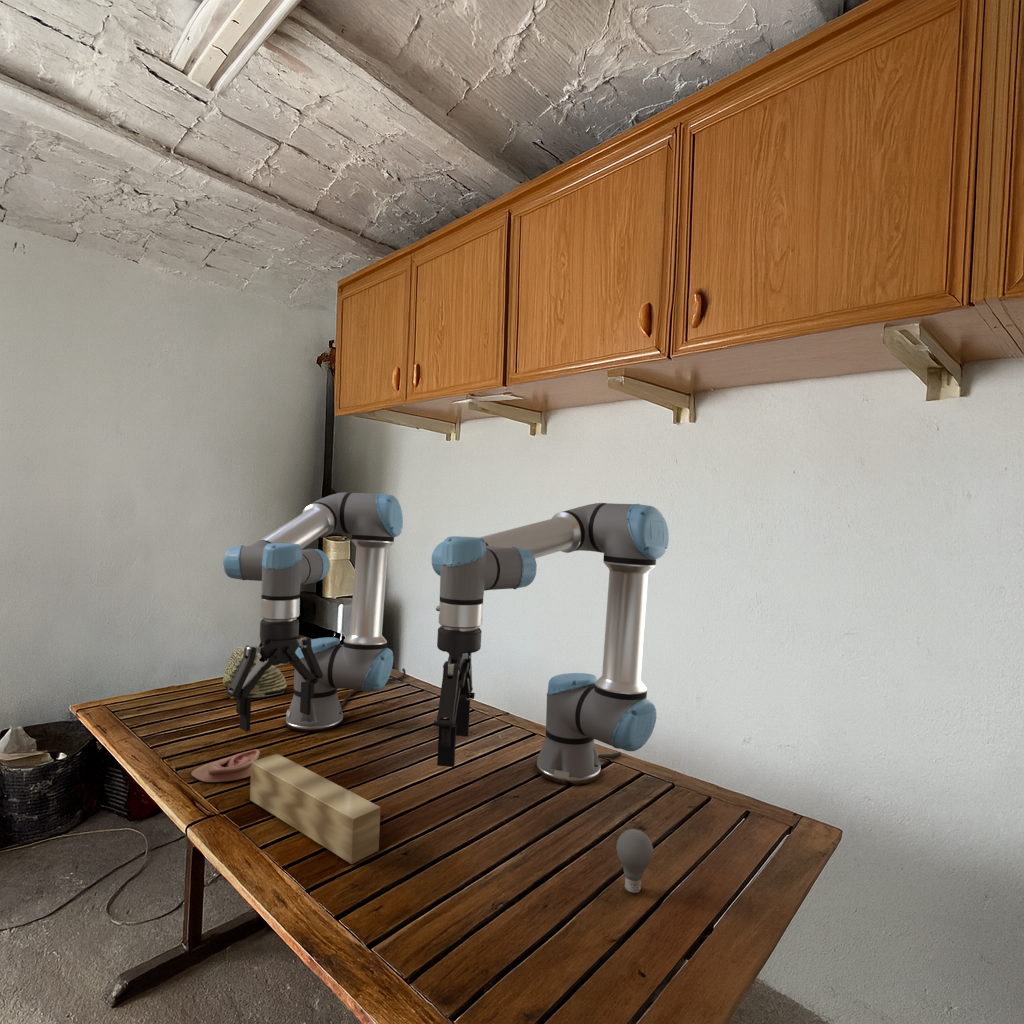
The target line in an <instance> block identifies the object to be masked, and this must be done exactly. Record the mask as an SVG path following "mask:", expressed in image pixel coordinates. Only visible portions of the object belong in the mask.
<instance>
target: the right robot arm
mask: <svg viewBox="0 0 1024 1024" xmlns="http://www.w3.org/2000/svg"><path fill="white" fill-rule="evenodd" d="M668 526H669V525H668V523H667V520H666V518H665V517H664V515H663V514H662V512H661V511H660V510H659V509H658V508H656V507H655V506H652V505H647V504H641V503H612V502H611V503H607V502H595V503H590V504H585V505H582V506H577V507H575V508H571V509H566V510H563V511H559V512H557V513H554V515H553V516H552V517H551V518H549V519H546V520H541V521H538V522H534V523H530V524H526V525H522V526H518V527H515V528H510V529H507V530H502V531H498V532H495V533H491V534H487V535H483V536H479V537H477V536H461V535H460V536H457V535H455V536H454V535H453V536H452V535H451V536H447V537H446V538H444V540H443V541H441V542H440V543H438V544H437V545H436V546H435V547H434V549H433V551H432V554H431V566H432V570H433V571H434V572H435V574H436V575H437V576H439V578H440V579H439V605H436V607H435V611H436V612H439V614H438V624H439V625H440V626H439V627H438V628H437V636H436V639H437V641H436V646H437V649H438V650H439V651H441V652H446V653H447V654H448V658H447V660H446V661H445V662H444V663H443V664H442V668H443V669H442V680H441V687H440V695H439V702H438V709H437V718H436V720H434V721H433V726H434V727H438V737H437V739H438V740H437V741H438V742H437V758H436V759H437V761H436V766H438V767H447V768H448V767H449V768H455V764H456V763H455V762H456V761H455V760H456V745H457V744H456V742H457V737H467V738H468V737H469V732H470V713H471V700H474V699H475V696H476V693H475V692H473V691H474V690H473V689H474V688H473V665H472V654H473V653H477V652H478V651H480V650H481V647H482V629H481V628H480V627H481V626H482V625H483V621H484V619H483V617H484V595H485V592H487V591H494V590H495V591H497V590H511V589H513V590H517V589H520V588H526V587H529V586H530V585H531V584H532V583H533V582H534V581H535V579H536V576H537V570H538V569H537V567H538V566H537V560H536V559H538V558H541V557H545V556H547V555H551V554H554V553H558V552H561V553H565V554H569V553H572V552H573V553H574V552H578V551H582V552H583V551H584V552H594V553H602V554H603V564H604V565H605V566H606V567H607V568H608V571H609V574H608V587H607V598H606V599H607V602H606V616H605V627H604V643H603V657H602V672H601V675H600V676H599V678H597V676H596V675H594V674H592V673H585V672H569V673H561V674H556V675H554V676H552V677H550V679H549V681H548V685H547V692H546V715H545V716H546V717H545V737H544V739H543V743H542V746H541V748H540V751H539V754H538V757H537V759H536V771H537V773H538V775H540V776H541V777H542V778H544V779H546V780H548V781H550V782H554V783H557V784H562V785H570V786H571V785H572V786H573V785H574V786H575V785H576V786H577V785H587V784H590V783H593V782H596V781H597V780H598V779H599V778H600V776H601V769H602V768H601V761H600V759H614V758H617V757H621V756H622V752H621V751H619V752H615V753H604V754H603V753H601V754H599V753H598V749H597V747H596V743H595V741H598V742H601V743H604V744H606V745H608V746H611V747H613V749H618V750H619V749H620V750H622V751H626V752H636V751H638V750H640V749H641V748H642V747H643V746H644V745H646V744H647V742H648V741H649V739H650V738H651V736H652V734H653V732H654V731H655V730H654V729H655V726H656V722H657V708H656V707H655V706H656V705H655V703H654V702H652V701H651V700H650V699H647V697H648V696H647V695H648V687H647V686H646V684H645V683H644V682H643V681H642V669H643V667H642V666H643V653H644V640H645V624H646V613H647V612H646V611H647V610H646V609H647V598H648V597H647V596H648V583H649V581H648V580H649V574H650V572H651V571H652V570H653V569H654V568H656V565H657V560H659V559H661V558H662V557H663V556H664V555H665V554H666V550H667V549H668V546H669V541H670V535H669V534H670V532H669V528H668Z"/></svg>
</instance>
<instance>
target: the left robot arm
mask: <svg viewBox="0 0 1024 1024" xmlns="http://www.w3.org/2000/svg"><path fill="white" fill-rule="evenodd" d="M403 525H404V517H403V509H402V507H401V504H400V502H399V500H398V499H397V497H395V496H394V495H392V494H387V493H381V492H379V493H374V492H372V493H371V492H346V491H345V492H343V491H342V492H337V493H334V494H329V495H327V496H325V497H321V498H320V499H319V498H318V499H317V500H316V501H314V502H311V503H310V504H309V505H307V506H305V507H304V509H302V511H301V513H300V514H299V515H298V516H296V517H295V518H293V519H291V520H289V521H288V522H286V523H284V524H282V525H281V526H280V527H278V528H276V529H275V530H273V531H271V532H270V533H268V534H267V535H265V536H264V537H262V538H260V539H259V540H256V541H255V542H254V543H252V544H250V545H243V544H241V545H233V546H230V547H229V548H228V549H227V550H226V552H225V554H224V556H223V559H222V565H223V571H224V573H225V575H226V576H227V577H228V578H230V579H234V580H241V581H254V582H255V581H257V582H261V595H260V602H261V603H260V617H261V618H262V619H261V620H260V621H259V639H260V643H259V644H258V646H252V645H245V646H244V647H245V648H244V655H243V658H242V660H241V663H240V665H239V667H238V669H237V671H236V673H235V675H234V677H233V679H232V681H231V684H230V686H229V688H228V690H227V689H226V694H227V695H228V696H229V697H230V696H232V697H235V698H234V699H236V702H235V703H236V704H235V708H236V709H235V711H236V714H237V715H239V722H238V723H239V726H238V727H239V729H240V730H241V731H244V732H246V733H247V732H250V731H251V713H252V698H250V697H248V695H249V693H250V692H251V691H252V689H253V688H254V686H255V685H256V684H257V682H258V681H259V679H260V678H261V677H262V675H263V674H264V672H265V671H266V670H267V669H269V668H270V666H271V665H273V666H275V665H276V666H278V665H281V664H282V665H283V664H284V665H285V664H288V663H290V665H291V666H292V667H293V668H294V672H293V695H292V696H293V697H292V699H291V702H290V704H289V708H288V709H287V710H286V713H285V726H286V728H287V729H289V730H291V731H294V732H295V731H296V732H301V733H316V732H325V731H329V730H332V729H335V728H337V727H339V726H340V725H342V723H343V722H344V714H343V709H342V707H343V706H344V705H345V704H346V703H347V701H348V700H349V699H350V697H351V696H352V695H353V694H355V693H356V692H359V691H362V692H364V693H366V692H379V691H381V690H382V689H383V688H384V687H385V685H386V684H389V683H392V682H395V681H400V680H402V679H404V678H405V677H406V669H405V668H404V667H402V669H401V671H402V675H400V676H398V677H395V678H391V679H389V678H390V676H391V673H392V669H393V665H394V652H393V650H392V649H391V648H388V646H387V645H388V644H387V643H388V641H387V639H386V638H385V637H384V636H383V624H384V611H385V610H384V609H385V595H386V583H387V582H386V579H387V578H386V577H387V567H388V564H387V563H388V553H389V549H390V547H392V545H394V543H395V538H397V537H399V536H400V535H401V534H402V529H403V527H404V526H403ZM331 534H346V535H351V539H350V541H351V543H352V544H354V546H355V548H356V549H355V561H354V574H353V577H354V578H353V588H352V600H351V601H352V603H351V615H350V626H349V627H350V629H349V634H348V636H346V637H345V638H344V639H343V644H340V643H341V641H340V639H339V638H338V637H334V636H331V637H330V636H329V637H318V638H313V639H311V638H309V637H306V636H301V637H299V630H300V620H299V619H298V618H299V617H300V615H301V613H300V610H301V609H300V608H301V607H300V605H301V586H305V585H309V584H315V583H317V582H319V581H321V580H323V579H324V578H326V577H327V575H328V574H329V571H330V567H331V563H330V559H329V557H328V555H327V554H326V552H324V551H323V550H321V549H318V548H306V547H307V546H309V545H311V543H313V542H314V541H316V540H317V539H318V538H325V537H327V536H329V535H331ZM305 548H306V549H305ZM298 637H299V639H298ZM258 653H260V655H261V656H260V657H259V659H258V660H257V661H256V665H255V666H254V668H253V669H252V671H251V672H250V670H251V667H252V665H253V663H254V661H255V657H257V656H258ZM264 661H266V662H265V663H264ZM249 672H250V673H249ZM248 674H249V675H248ZM338 689H342V690H343V689H344V690H351V691H350V692H349V693H348V694H347V696H346V697H345V698H344V699H343V700H342V702H340V699H339V695H338Z"/></svg>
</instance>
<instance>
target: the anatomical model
mask: <svg viewBox="0 0 1024 1024" xmlns="http://www.w3.org/2000/svg"><path fill="white" fill-rule="evenodd" d="M260 754H261V752H260V749H257V748H256V749H251V750H247V751H243V752H240V753H236V754H234V755H231V756H228V757H225V758H222V759H219V760H216V761H211V762H209V763H206V764H204V765H201V766H198V767H197V768H195V769H193V770H192V771H191V773H190V775H191V776H192V777H193V778H194V779H196V780H198V781H201V782H203V783H221V782H230V781H231V782H233V781H237V780H241V779H246V778H248V777H251V762H252V761H256V760H259V757H260Z"/></svg>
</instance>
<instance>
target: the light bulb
mask: <svg viewBox="0 0 1024 1024" xmlns="http://www.w3.org/2000/svg"><path fill="white" fill-rule="evenodd" d="M615 849H616V854H617V857H618V859H619V861H620V863H621V865H622V867H623V873H624V874H623V875H624V876H625V878H624V888H625V890H627V891H628V892H630V893H634V894H635V893H639V892H640V891H641V889H642V887H641V886H642V879H643V877H644V875H645V871H646V868H647V867H648V866H649V864H650V863H651V861H652V859H653V855H654V847H653V843H652V841H651V838H649V836H648V835H647V834H646V833H645V832H643V831H642V830H641V829H636V828H629V829H627V830H625V831H623V832H622V833H621V834H620V835H619V837H618V839H617V841H616V847H615Z"/></svg>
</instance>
